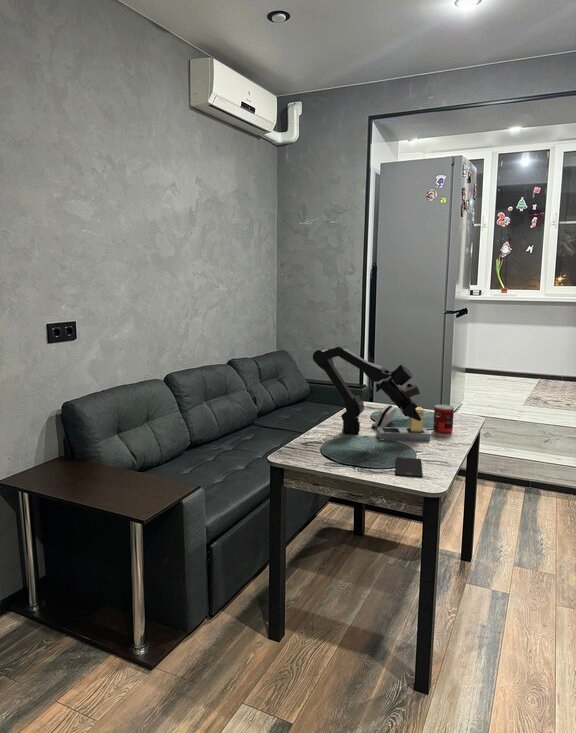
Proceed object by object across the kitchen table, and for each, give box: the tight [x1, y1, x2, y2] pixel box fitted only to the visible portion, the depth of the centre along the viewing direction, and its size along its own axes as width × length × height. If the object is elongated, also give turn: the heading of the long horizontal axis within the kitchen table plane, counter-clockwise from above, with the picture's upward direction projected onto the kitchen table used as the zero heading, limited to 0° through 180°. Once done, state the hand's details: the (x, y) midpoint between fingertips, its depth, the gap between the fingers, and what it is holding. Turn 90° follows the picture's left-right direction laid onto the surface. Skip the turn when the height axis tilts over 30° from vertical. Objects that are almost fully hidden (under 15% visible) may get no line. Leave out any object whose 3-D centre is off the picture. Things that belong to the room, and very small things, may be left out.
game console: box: [370, 404, 398, 429], centre depth 239 cm, size 17×5×10 cm, turn 153°
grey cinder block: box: [376, 426, 431, 442], centre depth 220 cm, size 20×9×3 cm, turn 89°
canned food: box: [433, 404, 455, 435], centre depth 229 cm, size 8×8×11 cm
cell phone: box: [394, 456, 424, 478], centre depth 185 cm, size 9×18×1 cm, turn 168°
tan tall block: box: [408, 406, 424, 433], centre depth 219 cm, size 5×5×11 cm
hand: (419, 418), depth 219 cm, fingers closed on tan tall block, 4 cm apart
